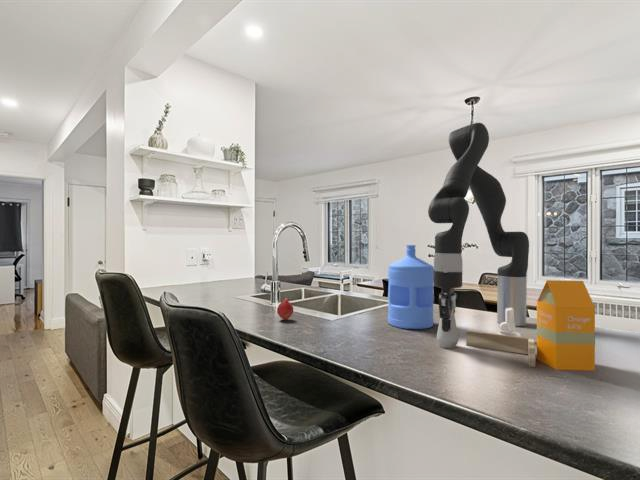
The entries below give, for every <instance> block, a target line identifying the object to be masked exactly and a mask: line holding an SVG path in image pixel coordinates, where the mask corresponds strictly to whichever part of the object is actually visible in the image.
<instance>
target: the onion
mask: <svg viewBox="0 0 640 480" xmlns="http://www.w3.org/2000/svg"><path fill="white" fill-rule="evenodd" d="M276 309H277V311H276V312H277V314H278V316H279V317H280V318H281V319H282V320H283V321H287V320H289V318H290V317H291V316H292V315H293V314H294V306H293V305H292V303H291V302H289V301H288V298H284V300H282V301H281V302H280V303H279V304H278V306H277V308H276Z"/></svg>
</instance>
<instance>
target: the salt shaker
mask: <svg viewBox="0 0 640 480" xmlns="http://www.w3.org/2000/svg"><path fill="white" fill-rule="evenodd" d="M456 305H457V304H456V302H455V301H454V303H453V309H455V310H456V307H457V306H456ZM450 307H451V305H450V306H449V308H450ZM444 314H447V312H445V311H444ZM445 329H446V328H445ZM458 333H459V332H458V328H457V322H456V317H455V314H454V310H453V311H452V312H451V326H450V330H449V332H445V331H443V329H442V319H441V318H440V317H439V321H438V327H437V332H436V341H437V343H438V346H439V347H440V348H443V349H449V350H451V349H456V347H457V345H458V342H459V339H460V338H459V334H458Z"/></svg>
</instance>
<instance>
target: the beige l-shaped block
mask: <svg viewBox="0 0 640 480" xmlns="http://www.w3.org/2000/svg"><path fill="white" fill-rule="evenodd" d="M465 335H466V336H465V343H466V344H465V345H466V346H469V347H474V348H482V349H489V350H497V351H501V352H502V351H503V352H511V353H517V354H522V355H523V354H526V355H528V367H533V368H536V346H535V345H536V344H535V340H534V338H533V337H525V336H523V337H518V336H510V335H502V334H498V333H493V332H483V331H476V330H469V329H468V330H467V329H466V332H465Z"/></svg>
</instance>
